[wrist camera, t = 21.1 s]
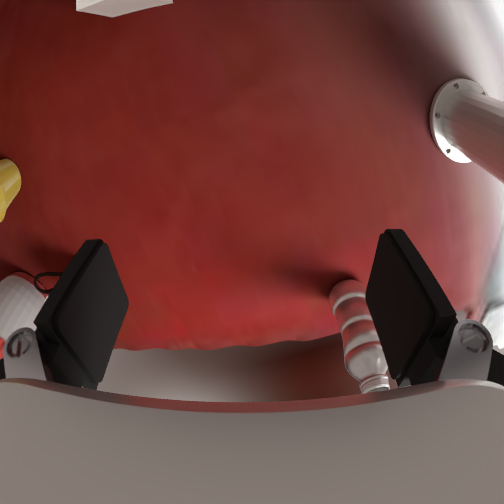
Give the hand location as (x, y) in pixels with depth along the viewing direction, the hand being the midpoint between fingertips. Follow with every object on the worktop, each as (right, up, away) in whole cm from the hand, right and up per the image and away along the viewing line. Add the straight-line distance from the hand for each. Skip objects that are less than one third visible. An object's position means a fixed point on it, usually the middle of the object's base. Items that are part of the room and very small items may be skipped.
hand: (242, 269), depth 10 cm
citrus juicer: (-48, -7, +41) cm, 63 cm away
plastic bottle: (+16, -5, +39) cm, 43 cm away
